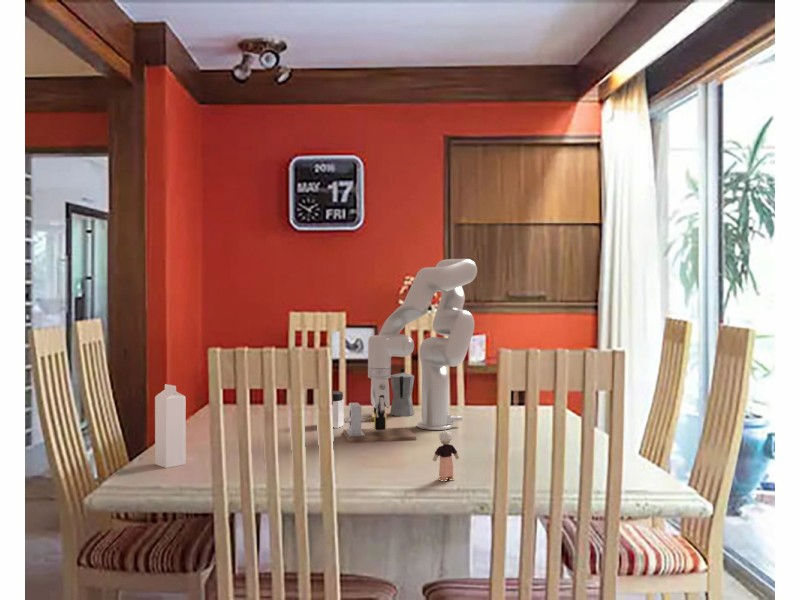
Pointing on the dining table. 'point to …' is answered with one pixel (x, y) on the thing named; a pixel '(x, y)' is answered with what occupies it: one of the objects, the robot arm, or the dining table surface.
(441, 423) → the robot arm
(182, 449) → the milk
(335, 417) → the jar
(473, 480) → the dining table surface
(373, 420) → the yellow block headed rod
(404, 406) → the coffeepot
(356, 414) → the brushed steel socket base
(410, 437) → the copper board
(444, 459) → the grandmother figurine
